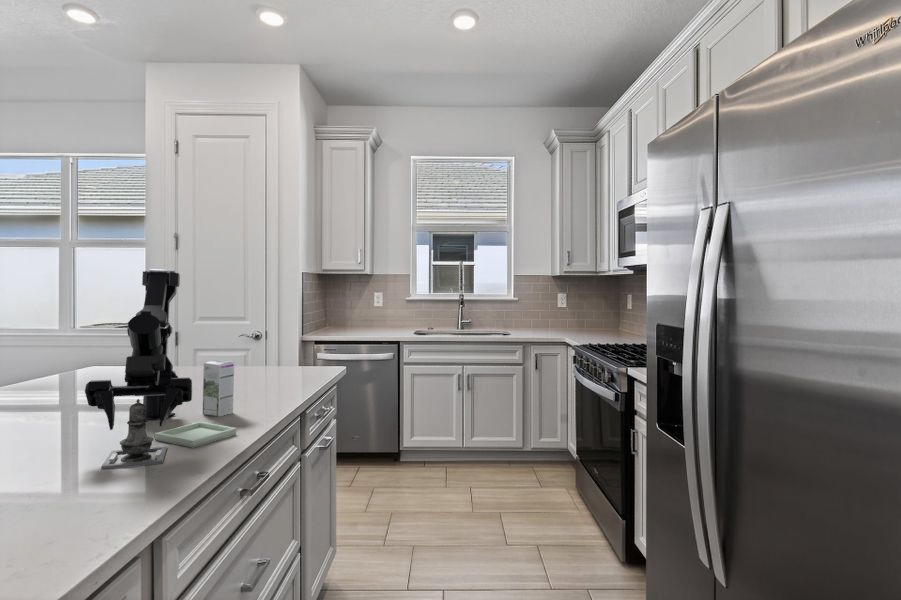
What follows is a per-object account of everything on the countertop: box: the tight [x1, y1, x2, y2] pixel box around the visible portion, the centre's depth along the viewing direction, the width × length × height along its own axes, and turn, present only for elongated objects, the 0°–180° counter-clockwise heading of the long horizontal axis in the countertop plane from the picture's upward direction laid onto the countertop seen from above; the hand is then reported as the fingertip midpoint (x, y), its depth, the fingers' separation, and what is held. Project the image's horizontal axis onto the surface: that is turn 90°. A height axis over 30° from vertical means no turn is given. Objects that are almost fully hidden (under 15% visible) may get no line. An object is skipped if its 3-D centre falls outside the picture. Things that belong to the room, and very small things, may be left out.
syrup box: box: [202, 360, 235, 418], centre depth 138 cm, size 6×6×14 cm
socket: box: [100, 445, 168, 470], centre depth 101 cm, size 10×10×1 cm
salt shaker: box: [119, 398, 155, 463], centre depth 101 cm, size 6×6×12 cm
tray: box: [154, 421, 237, 448], centre depth 116 cm, size 12×12×2 cm
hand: (136, 427), depth 99 cm, fingers open, 8 cm apart
